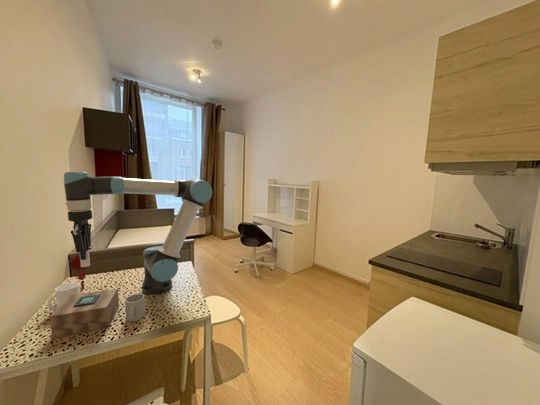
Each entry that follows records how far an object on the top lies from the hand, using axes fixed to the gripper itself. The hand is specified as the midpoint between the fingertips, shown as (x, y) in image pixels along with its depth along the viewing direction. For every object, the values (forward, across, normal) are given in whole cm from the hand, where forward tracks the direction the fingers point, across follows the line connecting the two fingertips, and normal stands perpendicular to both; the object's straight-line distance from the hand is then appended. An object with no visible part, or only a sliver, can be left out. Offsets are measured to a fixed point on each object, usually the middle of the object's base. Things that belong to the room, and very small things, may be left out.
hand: (85, 266), depth 94 cm
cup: (+25, +5, +17) cm, 31 cm away
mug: (+24, -14, -15) cm, 32 cm away
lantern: (+24, -34, -15) cm, 44 cm away
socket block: (+24, 0, -1) cm, 24 cm away
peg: (+24, 0, -1) cm, 24 cm away
